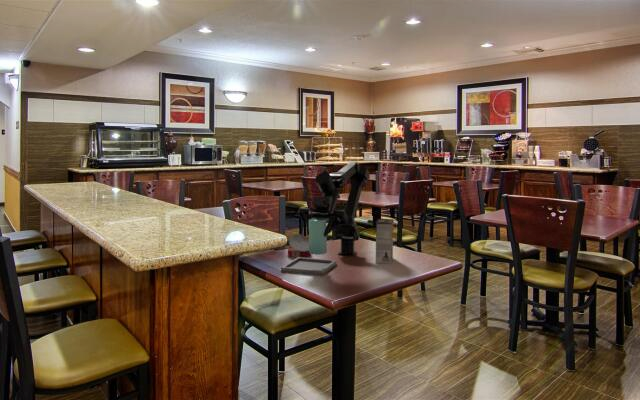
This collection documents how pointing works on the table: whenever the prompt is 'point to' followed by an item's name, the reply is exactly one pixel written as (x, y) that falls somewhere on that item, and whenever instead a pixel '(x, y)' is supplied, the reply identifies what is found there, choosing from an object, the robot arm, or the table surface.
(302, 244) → the canned food
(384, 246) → the coffee box
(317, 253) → the green rounded cylinder
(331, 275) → the table surface
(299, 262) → the tray
